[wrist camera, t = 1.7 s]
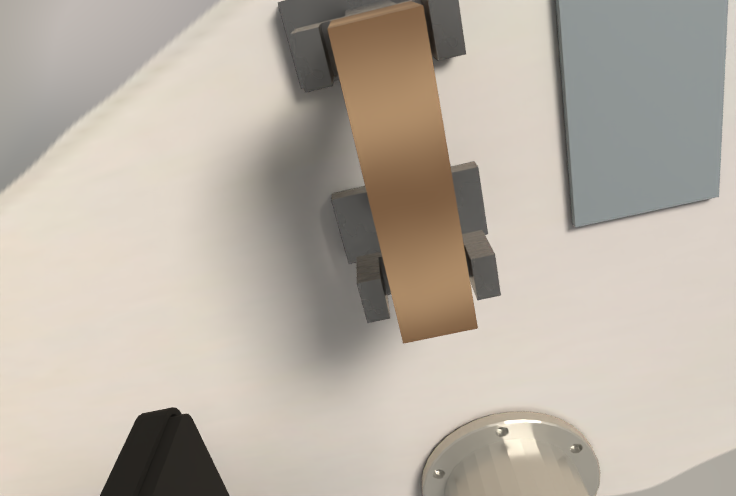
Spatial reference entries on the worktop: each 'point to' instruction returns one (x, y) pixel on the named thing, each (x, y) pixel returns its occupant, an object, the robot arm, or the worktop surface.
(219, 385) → the worktop surface
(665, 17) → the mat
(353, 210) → the stand
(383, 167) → the tan wooden bar
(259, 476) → the worktop surface
